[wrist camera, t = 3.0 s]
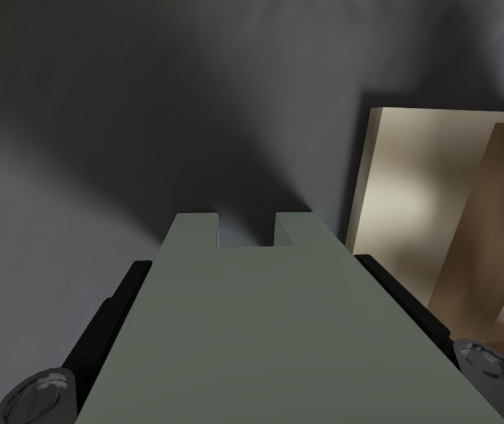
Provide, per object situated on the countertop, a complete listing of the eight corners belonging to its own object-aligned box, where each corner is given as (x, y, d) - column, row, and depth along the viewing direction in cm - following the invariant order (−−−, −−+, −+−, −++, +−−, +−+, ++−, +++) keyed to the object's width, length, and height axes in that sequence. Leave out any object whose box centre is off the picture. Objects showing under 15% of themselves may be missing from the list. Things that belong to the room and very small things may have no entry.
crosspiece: (177, 213, 13) (-98, 774, 2) (313, 212, 14) (672, 603, 3) (181, 261, 14) (22, 797, 3) (307, 257, 15) (546, 669, 4)
